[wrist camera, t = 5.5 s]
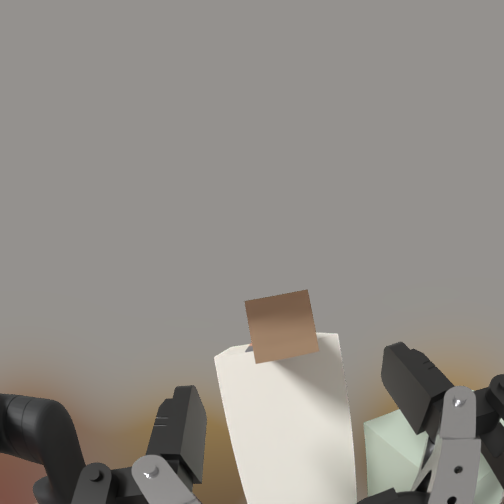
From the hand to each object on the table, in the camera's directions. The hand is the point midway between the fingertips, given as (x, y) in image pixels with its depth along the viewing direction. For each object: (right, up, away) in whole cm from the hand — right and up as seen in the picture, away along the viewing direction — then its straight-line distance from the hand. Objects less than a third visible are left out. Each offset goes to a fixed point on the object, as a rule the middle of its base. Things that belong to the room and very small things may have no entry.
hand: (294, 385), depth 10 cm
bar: (0, -3, +13) cm, 14 cm away
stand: (+7, -40, +6) cm, 41 cm away
